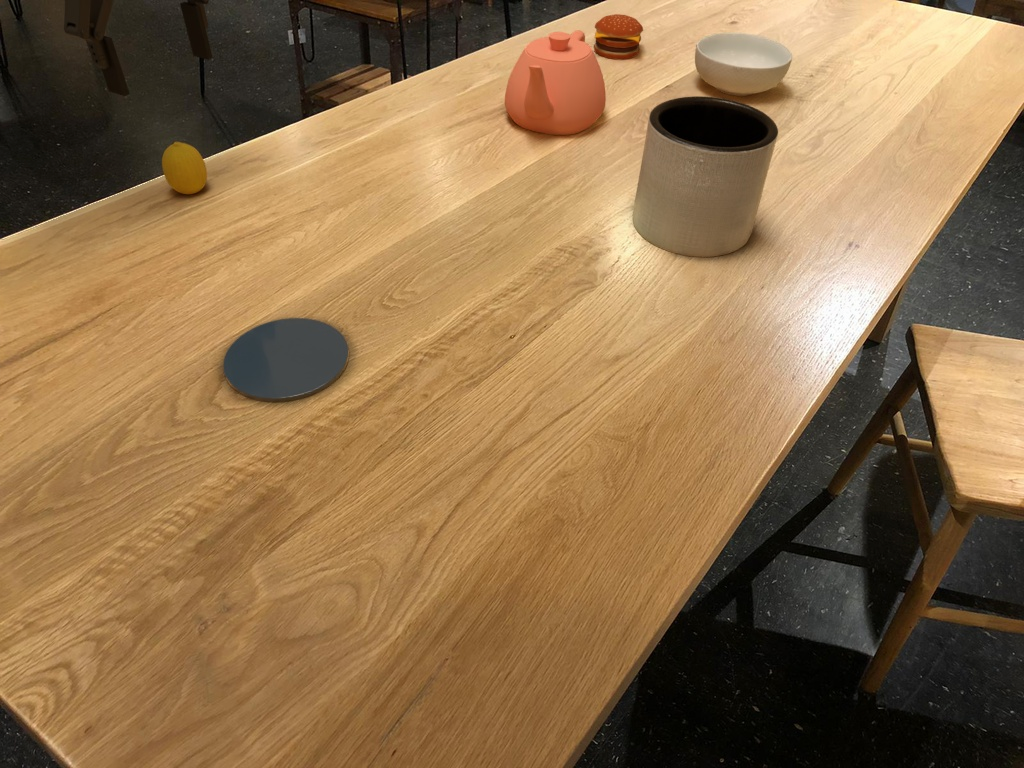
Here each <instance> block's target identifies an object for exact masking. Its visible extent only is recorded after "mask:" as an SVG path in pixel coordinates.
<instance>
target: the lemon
mask: <svg viewBox="0 0 1024 768" xmlns="http://www.w3.org/2000/svg"><path fill="white" fill-rule="evenodd" d="M161 157H162V158H161V168H162V171H163V172H162V173H163V175H164V178H165V180H166V182H167V184H168V185H169V186H170V187H171V188H172V189H173V190H174V191H176V192H177V193H179V194H183V195H194V194H197V193H198V192H200V191H202V189H203V188H204V187H205V186H206V183H207V181H208V180H207V179H208V172H207V166H206V162H205V160H204V159H203V156H202V155H201V153H200V152H199V151H198V149H196V147H194V146H192V145H191V144H188V143H185V142H180V141H174V143H173V144H170V145H169V146H167V148H166V149H165V150H164V152H163V155H162V156H161Z"/></svg>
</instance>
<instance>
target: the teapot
mask: <svg viewBox="0 0 1024 768" xmlns="http://www.w3.org/2000/svg"><path fill="white" fill-rule="evenodd" d="M585 34H586V33H585V32H584V31H583V30H574V31H573V32H571V34H569V33H567V32H564V31H553V32H550V33H549V34H548V36H544V37H540V38H536V39H534V40H532V41H530V42H529V43H528V44H527V45H526V46H525V47H524V49H523V51H522V52H521V54H520V55H519V57H518V59H517V61H516V62H515V63H514V66H513V68H512V70H511V72H510V74H509V78H508V80H507V83H506V88H505V94H504V107H505V110H506V112H507V114H508V115H509V116H510V118H511V119H512V121H513V122H514V123H515V124H516V125H517V126H519V127H521V128H523V129H525V130H528V131H530V132H531V131H532V132H535V133H540V134H546V135H551V136H552V135H553V136H569V135H576V134H578V133H581V132H583V131H586V130H587V129H589V128H590V127H591V126H592V125H593V124H595V122H597V120H598V119H600V117H601V116H602V115H603V112H604V110H605V108H606V103H607V102H606V101H607V98H606V97H607V96H606V85H605V80H604V75H603V71H602V69H601V66H600V63H599V61H598V58H597V57H596V54H595V51H594V49H593V48H592V47H591V45H590V44H589V43H587V42H586V35H585Z"/></svg>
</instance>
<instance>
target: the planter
mask: <svg viewBox="0 0 1024 768" xmlns="http://www.w3.org/2000/svg"><path fill="white" fill-rule="evenodd" d="M778 137H779V129H778V126H777V123H776V122H775V121H774V120H773V119H772V117H770V116H769V115H768V114H766V113H765V112H763V111H762V110H760V109H759V108H758V109H757V108H756V107H753V106H751V105H749V104H747V103H743V102H740V101H736V100H732V99H729V98H722V97H715V96H703V95H702V96H700V95H697V96H681V97H677V98H671V99H668V100H666V101H663V102H661V103H659V104H657V105H656V106H655V107H653V109H651V111H650V113H649V115H648V122H647V127H646V132H645V140H644V146H643V150H642V151H643V152H642V157H641V163H640V170H639V174H638V180H637V186H636V192H635V198H634V205H633V209H632V222H633V226H634V228H635V230H636V231H637V232H638V233H639V235H640V237H642V238H643V239H645V240H646V241H647V242H649V244H652V245H653V246H654V247H655V246H656V247H657V248H660V249H662V250H665V251H667V252H670V253H673V254H677V255H681V256H688V257H695V258H696V257H697V258H711V257H712V258H713V257H720V256H725V255H729V254H731V253H733V252H736V251H738V250H740V249H741V248H743V247H744V246H745V245H746V244H747V243H748V241H749V239H750V237H751V235H752V233H753V230H754V227H755V222H756V218H757V214H758V212H759V211H758V210H759V207H760V203H761V200H762V195H763V192H764V187H765V183H766V180H767V177H768V173H769V169H770V164H771V161H772V158H773V154H774V150H775V147H776V142H777V139H778Z"/></svg>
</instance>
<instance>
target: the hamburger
mask: <svg viewBox="0 0 1024 768" xmlns="http://www.w3.org/2000/svg"><path fill="white" fill-rule="evenodd" d="M594 29H595V30H596V31H595V33H594V39H595V42H594V44H593V51H594V53H596V54H597V55H598V56H601V57H602V58H603V57H604V58H607V59H610V60H611V59H612V60H628V59H632V58H634V57H637V56H638V55H639V53H640V42H641V41H642V36H641V34H642V32H644V27H643V25H642V24H641V23H640V22H639V20H638V19H637V18H635V17H633V16H630V15H626V14H619V13H618V14H617V13H615V14H610V15H609V14H607V15H605V16H603V17H602V18H600V19H598V21H596V23H594Z"/></svg>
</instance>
